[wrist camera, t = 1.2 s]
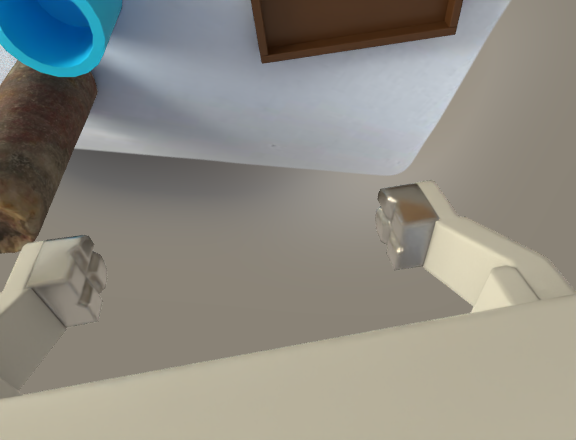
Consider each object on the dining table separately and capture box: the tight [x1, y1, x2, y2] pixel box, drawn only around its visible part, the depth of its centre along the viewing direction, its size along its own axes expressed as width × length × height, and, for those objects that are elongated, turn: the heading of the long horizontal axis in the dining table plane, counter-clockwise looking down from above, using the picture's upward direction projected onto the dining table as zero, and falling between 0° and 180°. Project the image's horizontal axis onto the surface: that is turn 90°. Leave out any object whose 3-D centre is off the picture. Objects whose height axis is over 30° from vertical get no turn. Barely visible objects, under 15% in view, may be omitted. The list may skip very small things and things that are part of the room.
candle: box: [0, 60, 97, 253], centre depth 35 cm, size 8×7×20 cm
